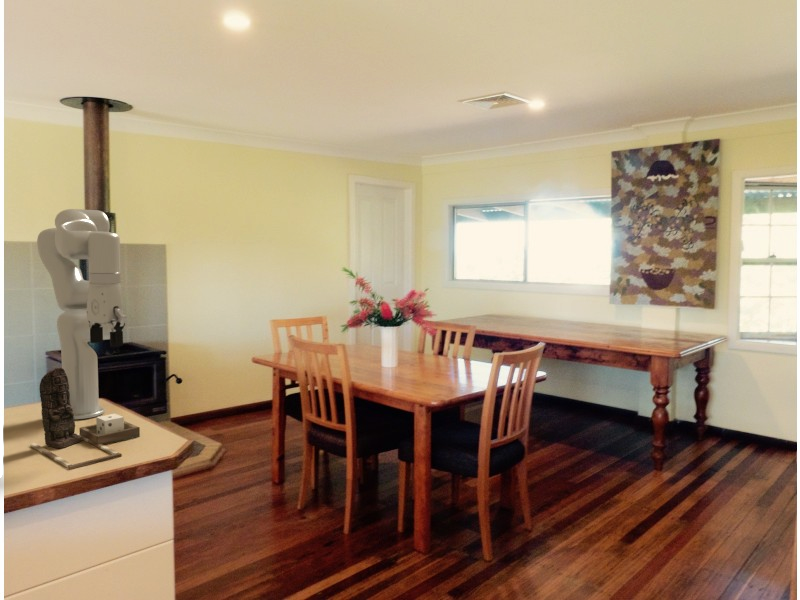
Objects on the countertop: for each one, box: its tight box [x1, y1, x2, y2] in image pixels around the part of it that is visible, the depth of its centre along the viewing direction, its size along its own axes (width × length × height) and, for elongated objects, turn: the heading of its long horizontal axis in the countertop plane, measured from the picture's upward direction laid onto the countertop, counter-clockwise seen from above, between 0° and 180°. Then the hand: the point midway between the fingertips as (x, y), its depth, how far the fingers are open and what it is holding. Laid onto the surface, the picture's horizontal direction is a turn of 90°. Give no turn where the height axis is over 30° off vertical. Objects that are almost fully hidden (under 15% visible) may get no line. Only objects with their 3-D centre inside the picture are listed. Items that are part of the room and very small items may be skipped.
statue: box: [39, 367, 83, 449], centre depth 160 cm, size 7×7×20 cm
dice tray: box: [79, 420, 141, 446], centre depth 167 cm, size 11×11×2 cm
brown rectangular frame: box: [29, 432, 123, 470], centre depth 155 cm, size 24×12×1 cm, turn 50°
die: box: [95, 413, 125, 435], centre depth 166 cm, size 5×5×5 cm
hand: (106, 344), depth 164 cm, fingers open, 9 cm apart
